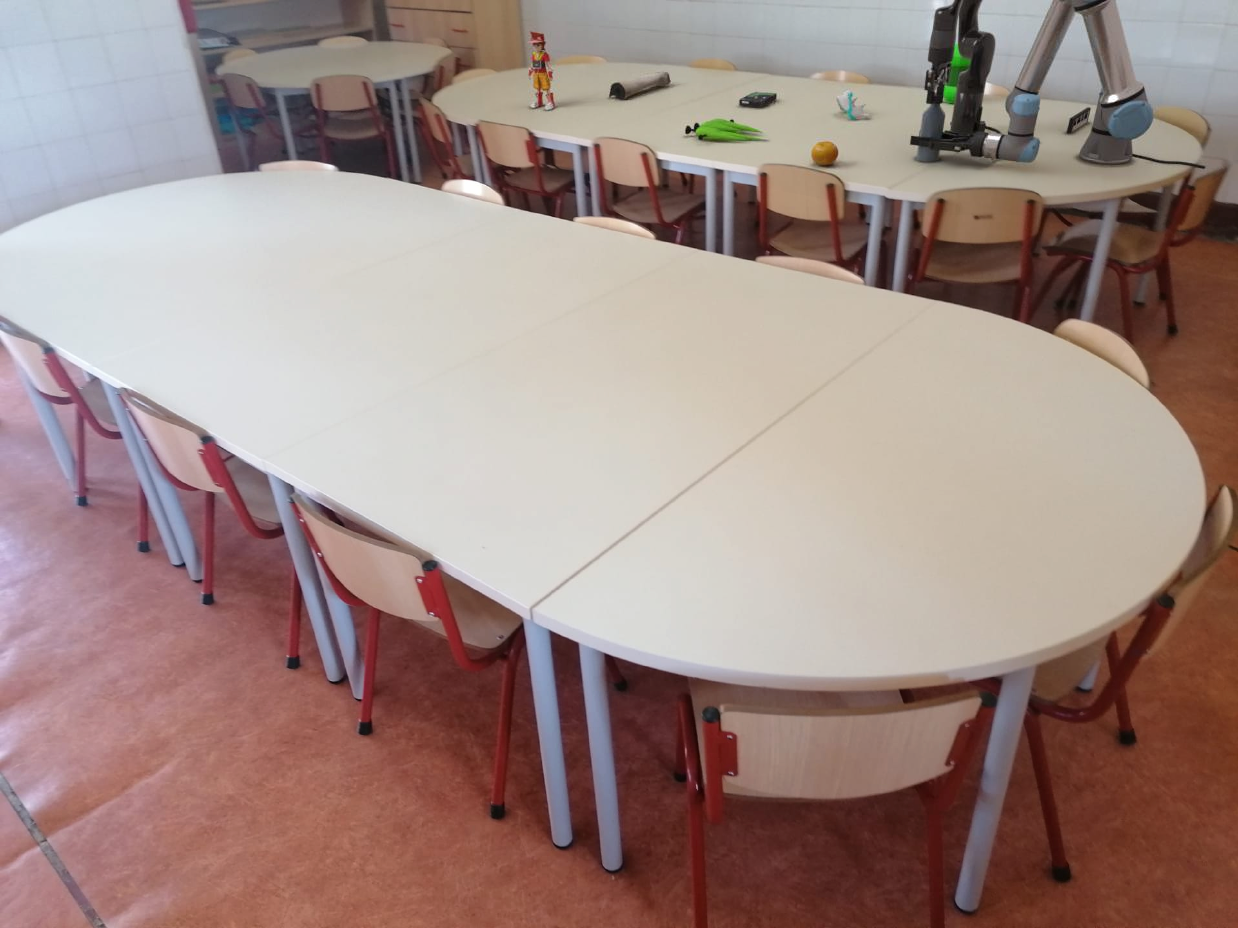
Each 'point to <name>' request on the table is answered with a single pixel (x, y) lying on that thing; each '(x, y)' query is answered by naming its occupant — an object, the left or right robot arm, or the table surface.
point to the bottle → (931, 131)
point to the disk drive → (757, 99)
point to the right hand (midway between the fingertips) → (915, 137)
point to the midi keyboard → (1078, 120)
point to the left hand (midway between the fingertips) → (934, 101)
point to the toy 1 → (541, 71)
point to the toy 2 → (721, 130)
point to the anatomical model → (850, 105)
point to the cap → (938, 98)
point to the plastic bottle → (955, 75)
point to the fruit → (824, 153)
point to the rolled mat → (638, 84)
